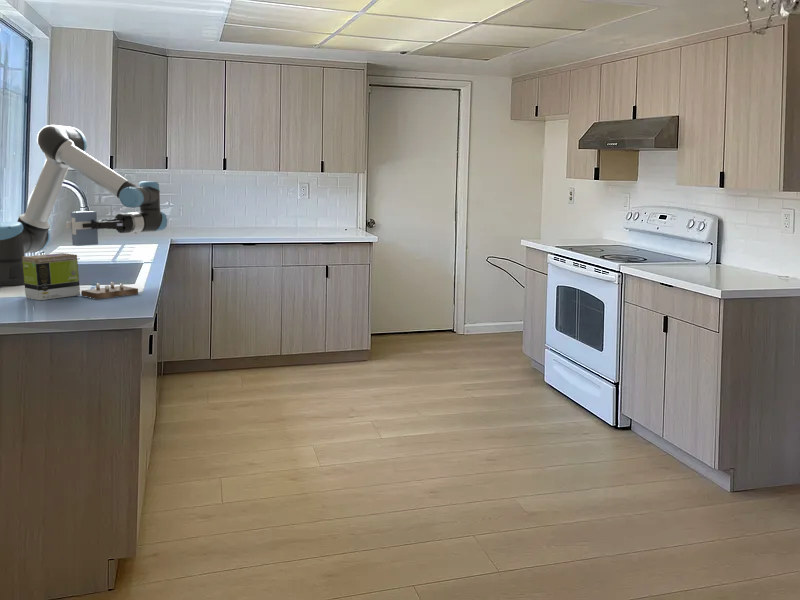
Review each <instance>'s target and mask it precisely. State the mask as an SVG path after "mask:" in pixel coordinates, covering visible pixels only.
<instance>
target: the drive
mask: <svg viewBox="0 0 800 600" xmlns="http://www.w3.org/2000/svg"><path fill="white" fill-rule="evenodd" d="M97 218H98V213H97V211H92V210H89V211H70V221H71V226H72V229H71V240H72V246H76V247H78V246H82V247H83V246H94V245H95V246H96V245H99V235H98V229H96V228H95V229H92V227H91V229H79V230H73V224H72V222H85V221H91V220H94V222H97V220H98V219H97Z"/></svg>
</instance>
